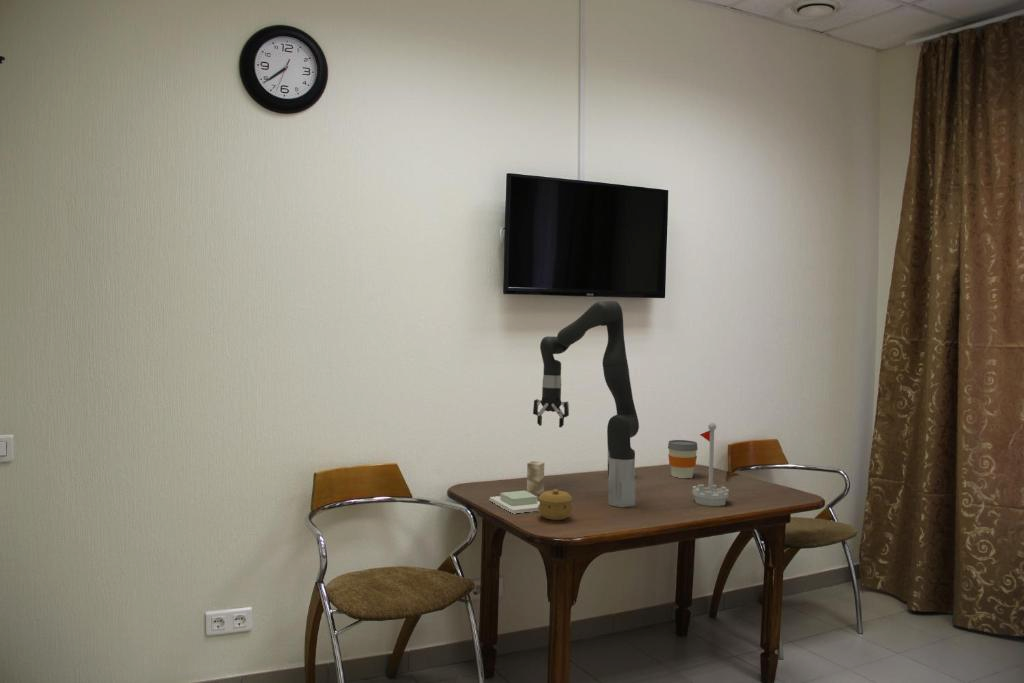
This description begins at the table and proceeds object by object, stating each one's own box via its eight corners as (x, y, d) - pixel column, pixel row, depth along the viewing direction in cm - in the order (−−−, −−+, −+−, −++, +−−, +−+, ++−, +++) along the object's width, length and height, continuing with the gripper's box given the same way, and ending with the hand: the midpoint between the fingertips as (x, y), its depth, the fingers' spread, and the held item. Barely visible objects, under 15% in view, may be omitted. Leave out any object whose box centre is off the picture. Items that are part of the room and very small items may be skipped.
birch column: (543, 493, 297) (544, 462, 297) (538, 496, 293) (539, 464, 292) (531, 491, 299) (532, 461, 299) (526, 494, 295) (527, 463, 294)
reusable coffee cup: (663, 473, 338) (664, 439, 337) (691, 473, 339) (691, 439, 339) (672, 479, 325) (673, 444, 325) (701, 479, 327) (702, 444, 326)
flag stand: (734, 502, 287) (737, 423, 286) (716, 508, 278) (719, 426, 277) (703, 496, 296) (706, 419, 295) (685, 502, 287) (687, 422, 286)
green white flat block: (548, 510, 271) (549, 499, 271) (513, 514, 265) (513, 502, 265) (523, 497, 289) (523, 487, 289) (489, 501, 283) (489, 490, 283)
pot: (574, 523, 256) (575, 493, 255) (539, 523, 255) (540, 493, 254) (569, 513, 267) (570, 485, 267) (535, 514, 266) (536, 485, 266)
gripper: (532, 385, 307) (530, 426, 307) (566, 388, 302) (565, 429, 303) (537, 384, 314) (536, 423, 315) (571, 386, 309) (569, 426, 310)
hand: (550, 426), depth 309 cm, fingers open, 8 cm apart
